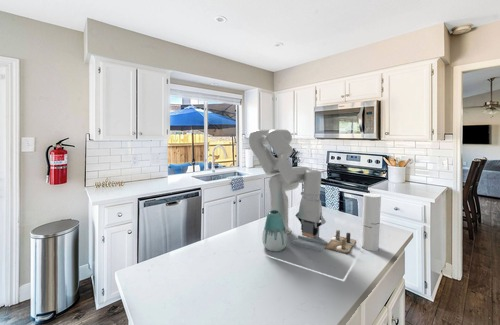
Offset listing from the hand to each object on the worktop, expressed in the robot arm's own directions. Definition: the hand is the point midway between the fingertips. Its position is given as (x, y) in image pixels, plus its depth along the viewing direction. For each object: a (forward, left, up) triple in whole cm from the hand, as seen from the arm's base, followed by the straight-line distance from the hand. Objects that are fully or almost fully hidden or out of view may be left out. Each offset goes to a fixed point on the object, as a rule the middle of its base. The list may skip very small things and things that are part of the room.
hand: (309, 232), depth 117 cm
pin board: (+13, +8, -6) cm, 16 cm away
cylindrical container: (+24, +14, -6) cm, 28 cm away
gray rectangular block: (-1, +8, -6) cm, 10 cm away
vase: (-12, -12, -6) cm, 18 cm away
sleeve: (0, 0, -1) cm, 1 cm away
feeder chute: (0, 0, -6) cm, 6 cm away
